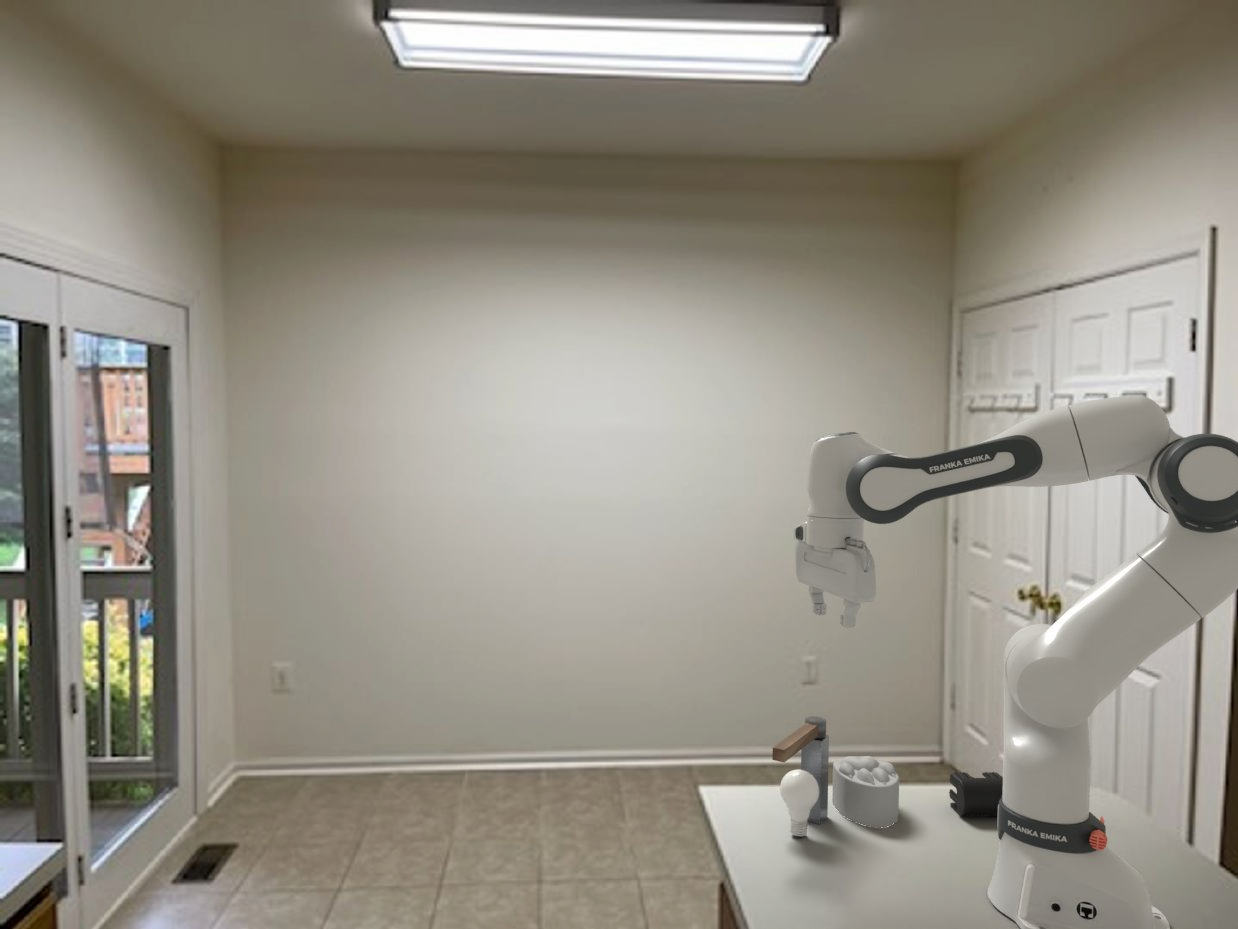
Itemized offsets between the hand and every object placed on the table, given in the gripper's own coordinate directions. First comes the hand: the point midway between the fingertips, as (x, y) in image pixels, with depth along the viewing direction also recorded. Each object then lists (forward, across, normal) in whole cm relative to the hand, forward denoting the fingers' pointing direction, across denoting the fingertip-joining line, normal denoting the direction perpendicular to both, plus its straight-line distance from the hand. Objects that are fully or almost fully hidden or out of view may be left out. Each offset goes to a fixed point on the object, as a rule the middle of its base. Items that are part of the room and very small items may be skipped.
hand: (833, 620), depth 136 cm
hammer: (+22, +6, +3) cm, 23 cm away
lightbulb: (+37, +5, +3) cm, 38 cm away
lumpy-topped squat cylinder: (+37, +11, -13) cm, 41 cm away
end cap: (+37, +6, -33) cm, 50 cm away
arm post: (+37, +11, -3) cm, 39 cm away
